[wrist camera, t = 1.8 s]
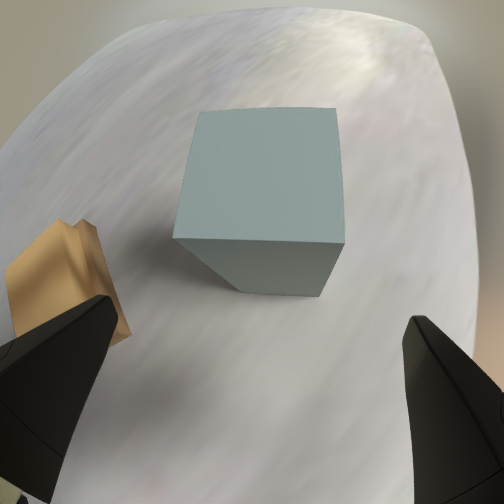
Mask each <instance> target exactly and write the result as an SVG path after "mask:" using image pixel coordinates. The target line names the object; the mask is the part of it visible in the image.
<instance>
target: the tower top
mask: <svg viewBox="0 0 504 504" xmlns="http://www.w3.org/2000/svg"><path fill="white" fill-rule="evenodd" d="M5 277H6V285H7V292H8V298H9V304H10V310H11V315H12V320H13V325H14V330H15V334H16V338H17V337H19V336H21V335H23V334H24V333H26V332H28V331H30V330H32V329H34V328H35V327H37V326H39V325H41V324H43V323H45V322H47V321H48V320H50V319H52V318H54V317H56V316H58V315H60V314H61V313H63V312H65V311H67V310H69V309H71V308H73V307H75V306H77V305H79V304H80V303H82V302H84V301H86V300H88V299H90V298H92V297H94V296H96V293H95V290H94V287H93V283H92V280H91V277H90V274H89V270H88V267H87V263H86V260H85V256H84V252H83V248H82V245H81V241H80V236H79V232H78V230H77V229H75V228H74V227H72V226H70V225H68V224H67V223H65V222H63V221H62V220H60V219H58V220H57V221H55V222H54V223H53V224H52V225H51V226H50V227H49V228H48V229H46V230H45V231H44V232H43V233H42V234H41V235H40V236H39V237H38V238H37V239H36V240H35V241H34V242H33V243H31V244H30V245H29V246H28V247H27V248H26V249H25V250H24V251H23V252H22V253H21V254H20V255H19V256H18V257H17V258H16V259H15V260H14V261H13V262H12V264H11V265H10V266H9V267H8V268H7V269H6V270H5Z"/></svg>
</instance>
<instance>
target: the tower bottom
mask: <svg viewBox="0 0 504 504" xmlns="http://www.w3.org/2000/svg"><path fill="white" fill-rule="evenodd" d="M73 227H74V228H75V229H77V230H78V232H79V236H80V241H81V245H82V248H83V252H84V256H85V260H86V263H87V267H88V270H89V274H90V277H91V280H92V283H93V287H94V290H95V293H96V295H98V294H104V295H109V296H110V297H111V298H112V300H113V303H114V305H115V308H116V310H117V313H118V323H117V326H116V329H115V331H114V334H113V337H112V339H111V342H110V345H109V347H111V346H113V345H114V344H116V343H118V342H120V341H121V340H123V339H125V338H127V337H129V336H130V335H132V334H131V332H130V329H129V327H128V324H127V322H126V319H125V317H124V314H123V311H122V309H121V306H120V303H119V301H118V298H117V295H116V292H115V289H114V286H113V283H112V280H111V277H110V274H109V271H108V268H107V265H106V262H105V258H104V255H103V252H102V248H101V245H100V241H99V238H98V234H97V230H96V227H95V226H93V225H91V224H90V223H88V222H87V221H85V220H83V219H82V220H81V221H79V222H78V223H77V224H76V225H74V226H73Z"/></svg>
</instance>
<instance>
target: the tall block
mask: <svg viewBox="0 0 504 504" xmlns="http://www.w3.org/2000/svg"><path fill="white" fill-rule="evenodd" d="M172 238H173V239H174V240H175V241H177V242H178V243H179V244H180V245H182V246H183V247H184V248H185V249H187V250H188V251H189V252H190V253H192V254H193V255H194V256H195V257H197V258H198V259H199V260H200V261H202V262H203V263H204V264H205V265H207V266H208V267H209V268H211V269H212V270H213V271H214V272H216V273H217V274H218V275H220V276H221V277H222V278H223V279H225V280H226V281H227V282H229V283H230V284H231V285H232V286H234V287H235V288H236V289H238V290H239V291H240V292H242V293H254V294H271V295H291V296H314V297H319V296H320V294H321V292H322V290H323V288H324V286H325V284H326V282H327V280H328V278H329V276H330V274H331V272H332V270H333V268H334V266H335V264H336V261H337V259H338V257H339V255H340V253H341V251H342V249H343V246H344V244H345V221H344V196H343V179H342V164H341V152H340V141H339V131H338V122H337V113H336V108H309V107H276V108H248V109H232V110H220V111H209V112H200V113H199V115H198V119H197V123H196V127H195V131H194V135H193V139H192V143H191V147H190V152H189V156H188V160H187V165H186V169H185V174H184V179H183V183H182V188H181V193H180V198H179V203H178V209H177V214H176V219H175V225H174V231H173V236H172Z"/></svg>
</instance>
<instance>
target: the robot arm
mask: <svg viewBox="0 0 504 504" xmlns="http://www.w3.org/2000/svg"><path fill="white" fill-rule="evenodd" d="M117 323H118V313H117V310H116V308H115V305H114V303H113V300H112V298H111V297H110V296H109V295H104V294H98V295H96V296H94V297H92V298H90V299H88V300H86V301H84V302H82V303H80V304H79V305H77V306H75V307H73V308H71V309H69V310H67V311H65V312H63V313H61V314H60V315H58V316H56V317H54V318H52V319H50V320H48V321H47V322H45V323H43V324H41V325H39V326H37V327H35V328H34V329H32V330H30V331H28V332H26V333H24V334H23V335H21V336H19V337H17V338H16V339H14V340H12V341H10V342H8V343H6V344H5V345H3V346H1V347H0V504H28V501H27V498H26V497H25V496H24V495H23V494H22V492H23V491H24V492H26V493H28V494H30V495H31V496H33V497H35V498H37V499H39V500H41V501H43V502H45V503H47V504H50V502H51V500H52V496H53V493H54V489H55V486H56V483H57V480H58V476H59V473H60V470H61V467H62V464H63V461H64V458H65V455H66V452H67V449H68V446H69V444H70V441H71V438H72V436H73V433H74V430H75V428H76V425H77V422H78V420H79V417H80V415H81V412H82V410H83V407H84V405H85V403H86V400H87V398H88V395H89V393H90V391H91V388H92V386H93V384H94V382H95V379H96V377H97V375H98V373H99V370H100V368H101V366H102V364H103V361H104V359H105V356H106V354H107V351H108V348H109V345H110V342H111V339H112V337H113V334H114V331H115V329H116V326H117ZM402 346H403V359H404V374H405V391H406V399H407V406H408V414H409V422H410V431H411V441H412V453H413V469H414V504H504V392H502V390H501V389H500V388H499V387H498V386H497V385H496V384H495V382H493V381H492V379H491V378H490V377H489V376H487V374H486V373H485V372H484V371H483V370H482V369H481V368H480V367H479V366H478V365H477V364H476V363H475V362H474V361H473V360H472V359H471V358H470V357H469V356H468V355H467V354H466V353H465V352H464V351H463V350H462V349H461V348H460V347H458V346H457V345H456V344H455V343H454V342H453V341H452V340H451V339H450V338H449V337H448V336H447V335H446V334H445V333H444V332H443V331H441V330H440V329H439V328H438V327H437V326H436V325H435V324H434V323H433V322H432V321H431V320H429V319H428V318H427V317H426V316H424V315H416V316H412V317H411V318H410V320H409V322H408V325H407V328H406V331H405V333H404V336H403V341H402Z"/></svg>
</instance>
